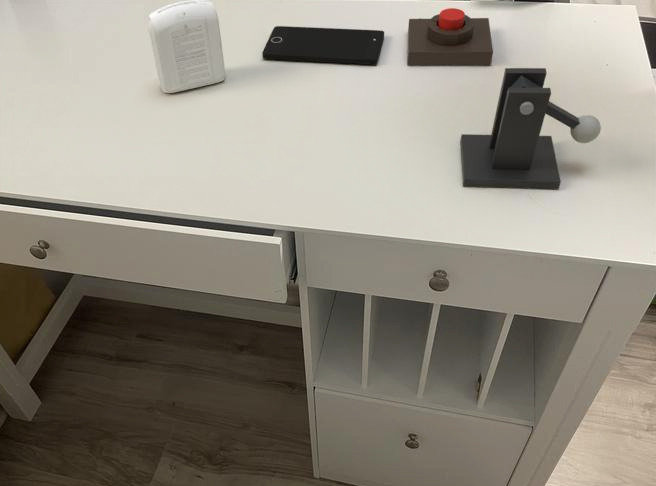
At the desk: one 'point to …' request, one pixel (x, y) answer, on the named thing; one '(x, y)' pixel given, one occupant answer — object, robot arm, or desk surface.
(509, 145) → the pivot bracket stand
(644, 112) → the desk surface
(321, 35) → the cell phone
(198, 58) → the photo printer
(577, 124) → the lever switch
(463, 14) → the power button
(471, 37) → the brown button base
